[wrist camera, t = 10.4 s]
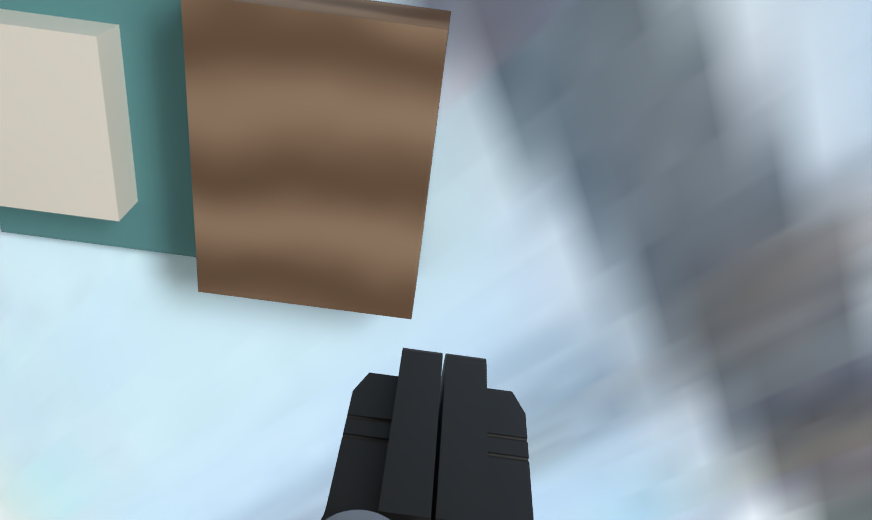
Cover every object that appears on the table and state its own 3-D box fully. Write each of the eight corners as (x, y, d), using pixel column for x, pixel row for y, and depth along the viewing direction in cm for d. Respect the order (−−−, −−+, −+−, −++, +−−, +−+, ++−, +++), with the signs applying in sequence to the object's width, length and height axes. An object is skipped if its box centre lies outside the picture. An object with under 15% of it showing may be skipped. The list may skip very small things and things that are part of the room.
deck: (209, -22, 35) (180, -7, 32) (450, 11, 35) (447, 30, 32) (220, 255, 43) (198, 291, 40) (416, 281, 44) (411, 319, 40)
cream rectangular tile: (96, 36, 34) (118, 24, 36) (-52, 16, 34) (-20, 6, 36) (119, 221, 39) (137, 201, 41) (-10, 204, 39) (16, 185, 41)
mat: (-55, -58, 35) (-62, -57, 35) (189, -25, 35) (185, -23, 35) (6, 227, 43) (1, 231, 43) (204, 253, 43) (201, 257, 43)
